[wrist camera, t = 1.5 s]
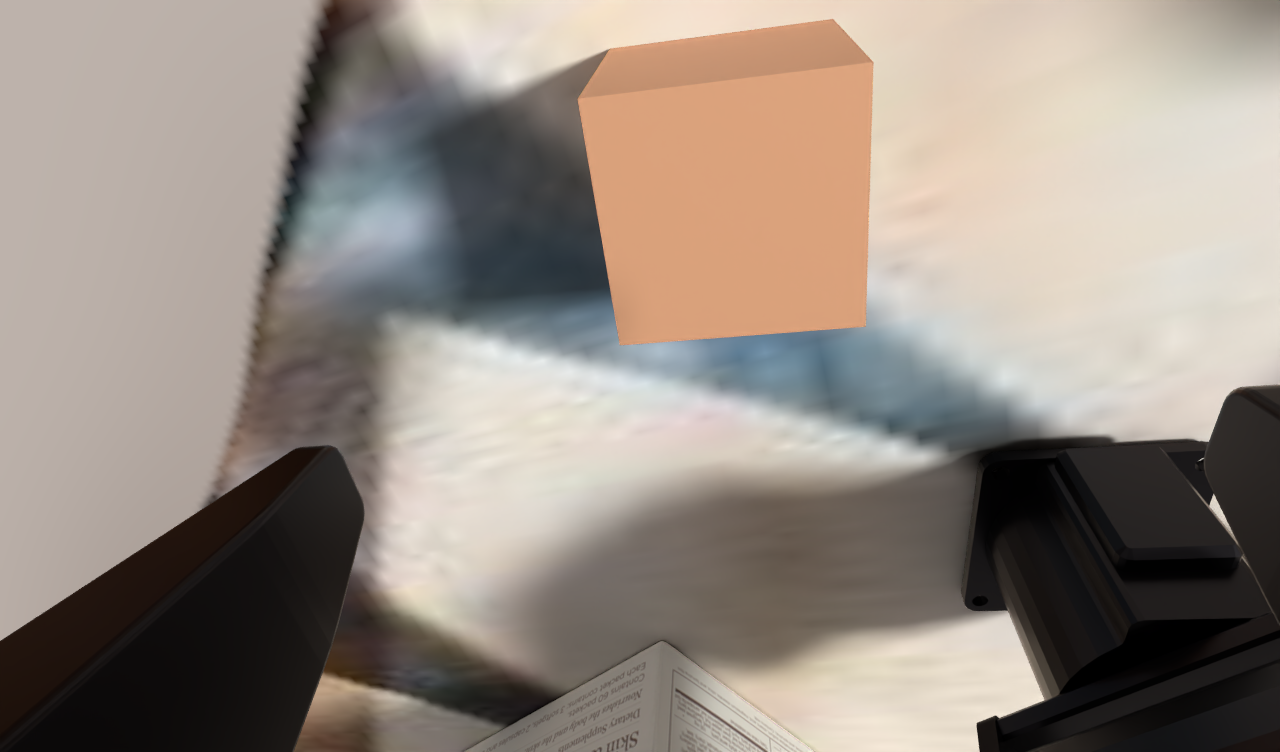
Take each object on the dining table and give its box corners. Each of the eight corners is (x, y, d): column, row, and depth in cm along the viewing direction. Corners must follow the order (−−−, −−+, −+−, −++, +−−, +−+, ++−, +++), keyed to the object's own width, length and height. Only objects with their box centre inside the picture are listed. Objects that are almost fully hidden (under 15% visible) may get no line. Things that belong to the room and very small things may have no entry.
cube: (832, 231, 19) (865, 326, 15) (639, 249, 20) (619, 345, 16) (832, 18, 17) (873, 61, 12) (610, 47, 17) (578, 98, 13)
